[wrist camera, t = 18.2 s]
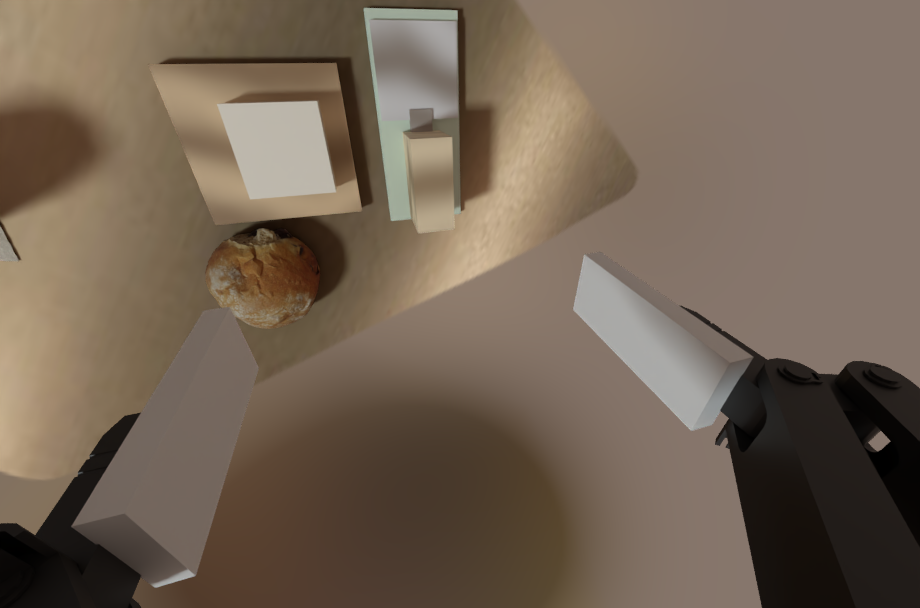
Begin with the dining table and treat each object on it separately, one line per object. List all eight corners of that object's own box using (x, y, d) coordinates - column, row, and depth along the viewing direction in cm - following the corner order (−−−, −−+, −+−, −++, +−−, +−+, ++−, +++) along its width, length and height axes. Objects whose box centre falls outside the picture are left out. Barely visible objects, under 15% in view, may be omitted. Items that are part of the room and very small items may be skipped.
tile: (216, 104, 25) (317, 100, 27) (224, 102, 27) (318, 100, 28) (249, 199, 29) (336, 192, 31) (255, 193, 31) (336, 186, 32)
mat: (363, 9, 27) (363, 7, 27) (455, 11, 29) (457, 10, 28) (390, 219, 36) (391, 220, 36) (459, 212, 38) (460, 213, 37)
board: (155, 64, 26) (147, 64, 25) (336, 63, 28) (336, 62, 27) (219, 220, 32) (215, 225, 31) (361, 207, 35) (362, 211, 34)
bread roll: (215, 253, 37) (173, 312, 32) (249, 196, 31) (204, 257, 26) (302, 297, 42) (278, 354, 37) (345, 256, 36) (323, 316, 31)
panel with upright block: (458, 211, 37) (472, 227, 33) (393, 218, 36) (399, 235, 32) (455, 21, 28) (472, 11, 24) (369, 20, 27) (372, 9, 23)
